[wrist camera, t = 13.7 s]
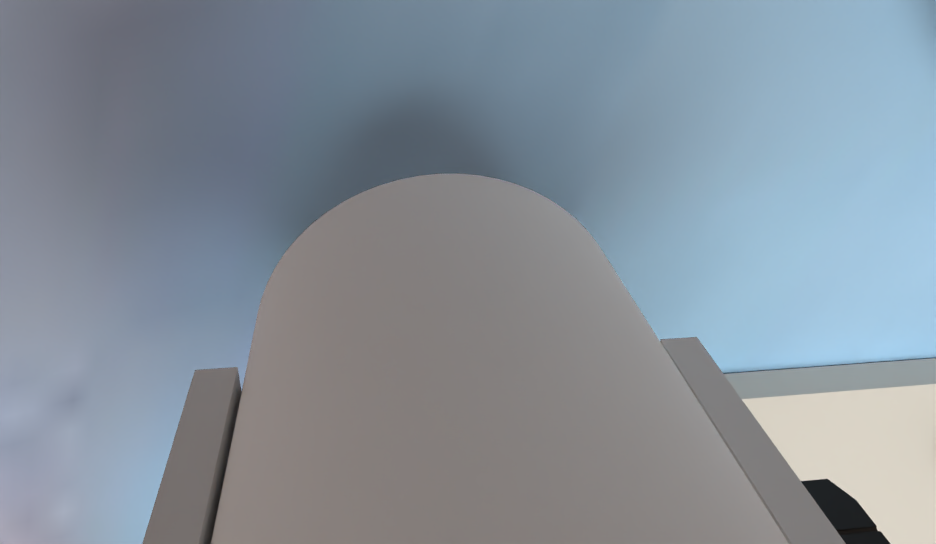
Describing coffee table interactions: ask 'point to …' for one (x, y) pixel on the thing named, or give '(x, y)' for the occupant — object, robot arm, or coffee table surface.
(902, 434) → the seat board
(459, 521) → the cup
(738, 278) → the coffee table surface
